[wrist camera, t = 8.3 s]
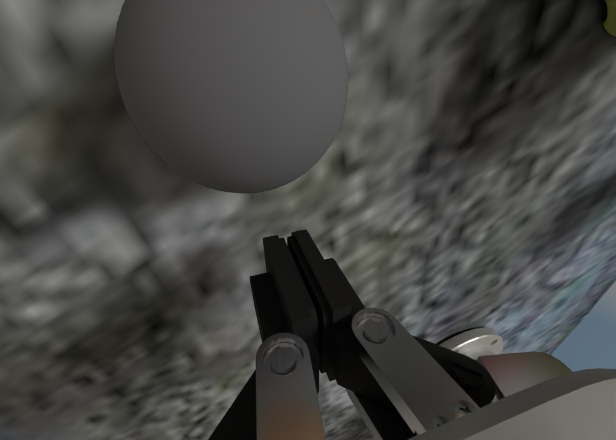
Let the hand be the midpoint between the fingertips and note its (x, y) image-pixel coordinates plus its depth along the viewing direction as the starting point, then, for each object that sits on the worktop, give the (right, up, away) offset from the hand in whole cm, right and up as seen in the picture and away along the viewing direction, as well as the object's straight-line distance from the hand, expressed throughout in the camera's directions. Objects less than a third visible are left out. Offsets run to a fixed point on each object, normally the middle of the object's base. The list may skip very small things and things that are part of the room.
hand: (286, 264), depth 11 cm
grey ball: (-1, +5, -4) cm, 6 cm away
